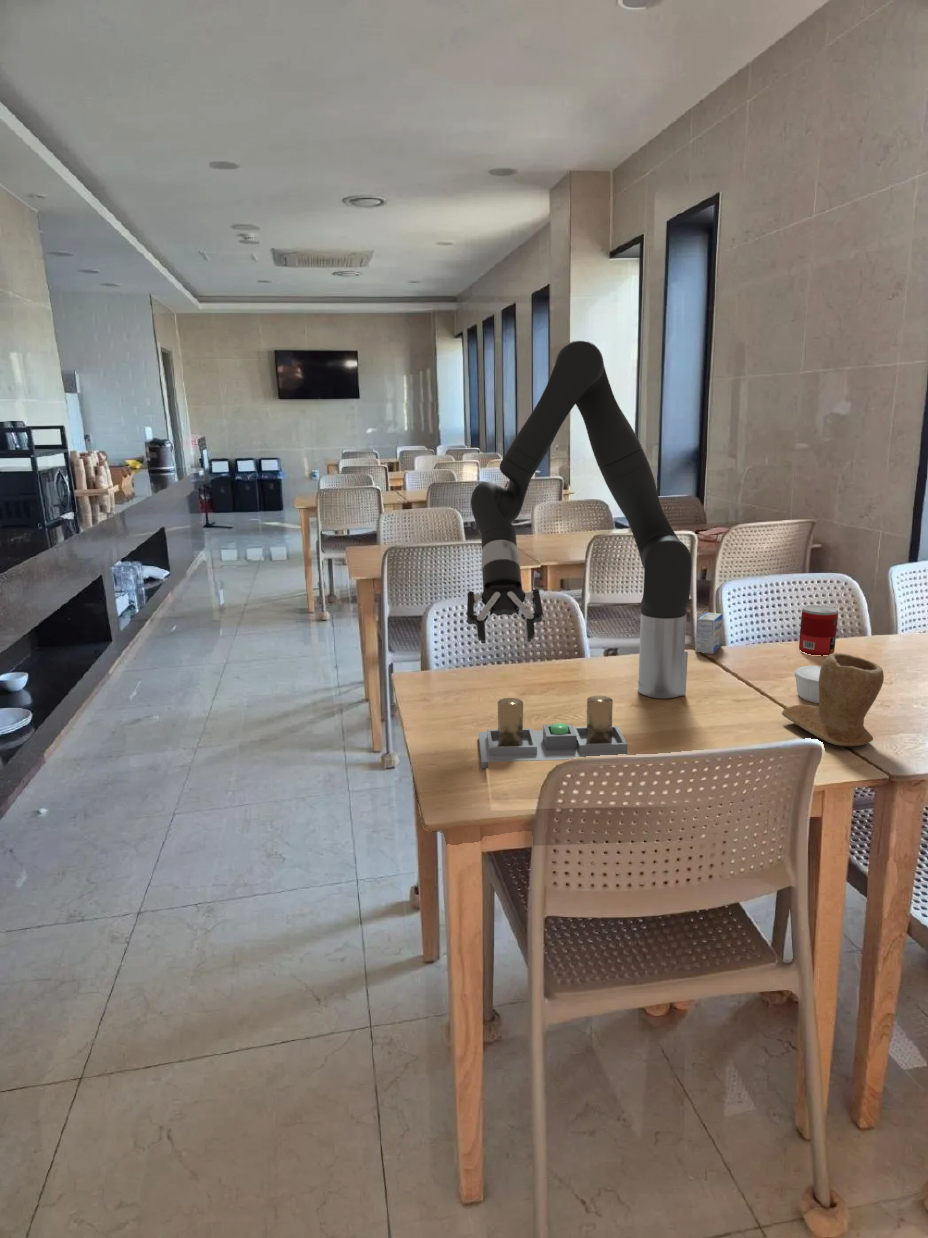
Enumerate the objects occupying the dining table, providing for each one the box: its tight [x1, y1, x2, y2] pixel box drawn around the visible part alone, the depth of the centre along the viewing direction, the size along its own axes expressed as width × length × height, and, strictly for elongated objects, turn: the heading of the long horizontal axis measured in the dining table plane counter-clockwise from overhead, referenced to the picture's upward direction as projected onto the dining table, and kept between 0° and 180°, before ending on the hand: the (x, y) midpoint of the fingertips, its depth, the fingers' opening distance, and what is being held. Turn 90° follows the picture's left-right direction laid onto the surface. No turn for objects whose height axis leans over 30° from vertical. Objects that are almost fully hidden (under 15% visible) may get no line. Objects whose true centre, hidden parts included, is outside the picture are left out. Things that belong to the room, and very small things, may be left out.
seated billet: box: [586, 695, 614, 744], centre depth 137 cm, size 4×4×8 cm
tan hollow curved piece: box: [781, 652, 885, 747], centre depth 140 cm, size 15×12×15 cm
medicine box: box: [694, 612, 723, 655], centre depth 194 cm, size 8×4×9 cm, turn 148°
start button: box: [550, 722, 568, 734], centre depth 137 cm, size 3×3×2 cm
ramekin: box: [794, 665, 821, 704], centre depth 160 cm, size 11×11×5 cm
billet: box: [497, 697, 524, 746], centre depth 136 cm, size 4×4×8 cm
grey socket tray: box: [478, 723, 629, 769], centre depth 137 cm, size 25×13×4 cm, turn 91°
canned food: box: [798, 604, 839, 657], centre depth 189 cm, size 8×8×11 cm
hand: (506, 640), depth 145 cm, fingers open, 8 cm apart
